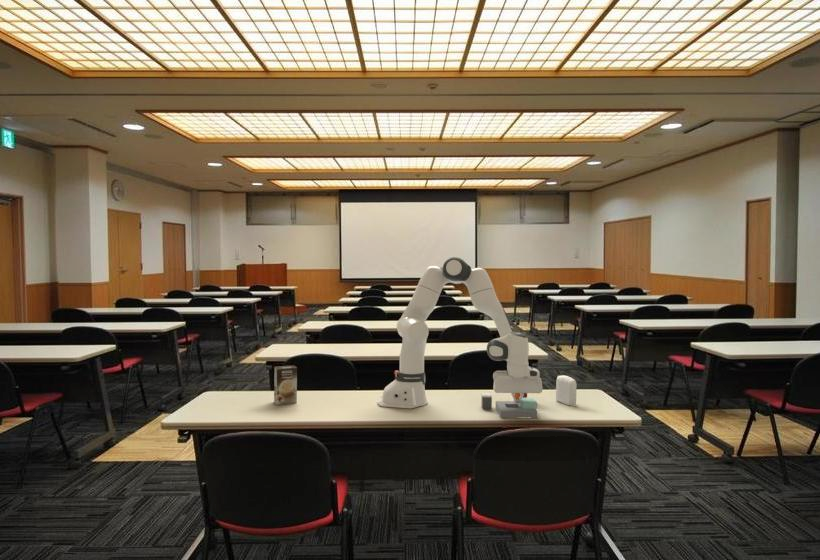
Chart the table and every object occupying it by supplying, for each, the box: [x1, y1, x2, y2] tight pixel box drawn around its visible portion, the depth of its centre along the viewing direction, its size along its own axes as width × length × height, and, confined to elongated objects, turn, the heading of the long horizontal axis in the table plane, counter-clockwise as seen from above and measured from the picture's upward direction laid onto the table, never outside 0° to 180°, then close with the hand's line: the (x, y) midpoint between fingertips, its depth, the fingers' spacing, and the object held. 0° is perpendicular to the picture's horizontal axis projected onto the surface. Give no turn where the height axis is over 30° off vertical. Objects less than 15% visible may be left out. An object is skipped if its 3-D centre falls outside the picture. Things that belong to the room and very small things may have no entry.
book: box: [555, 375, 578, 407], centre depth 226 cm, size 10×4×12 cm, turn 25°
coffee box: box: [273, 365, 298, 406], centre depth 225 cm, size 9×6×16 cm
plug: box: [480, 392, 493, 410], centre depth 218 cm, size 4×4×6 cm
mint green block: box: [519, 397, 538, 410], centre depth 210 cm, size 6×8×2 cm
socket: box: [495, 400, 538, 419], centre depth 211 cm, size 15×14×3 cm
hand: (517, 403), depth 210 cm, fingers closed
